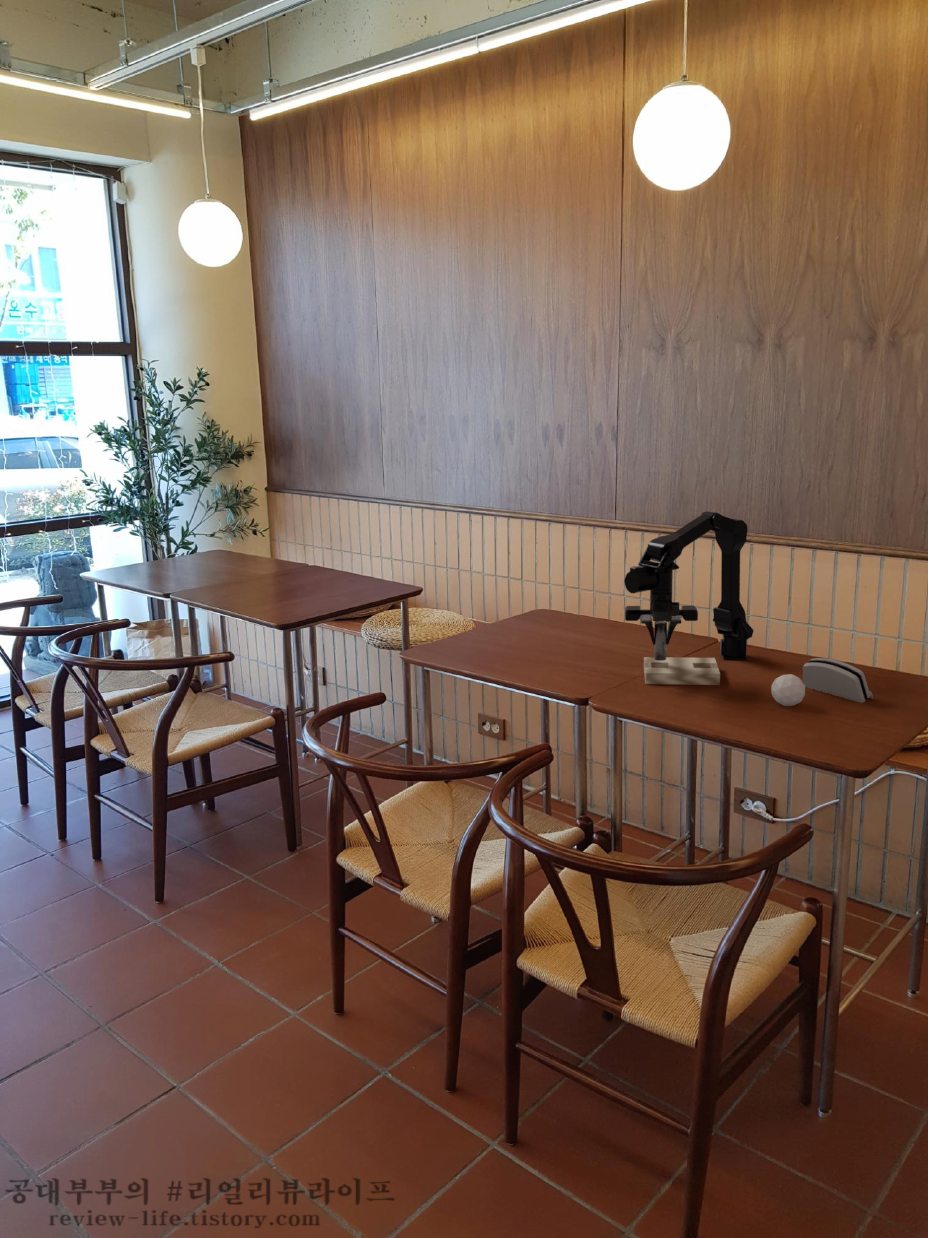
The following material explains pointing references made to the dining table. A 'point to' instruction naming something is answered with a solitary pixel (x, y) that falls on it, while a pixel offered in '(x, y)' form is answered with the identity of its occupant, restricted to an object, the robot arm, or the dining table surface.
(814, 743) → the dining table surface
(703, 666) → the dock board
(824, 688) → the grey napkin holder
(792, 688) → the geometric ball
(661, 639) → the pin
